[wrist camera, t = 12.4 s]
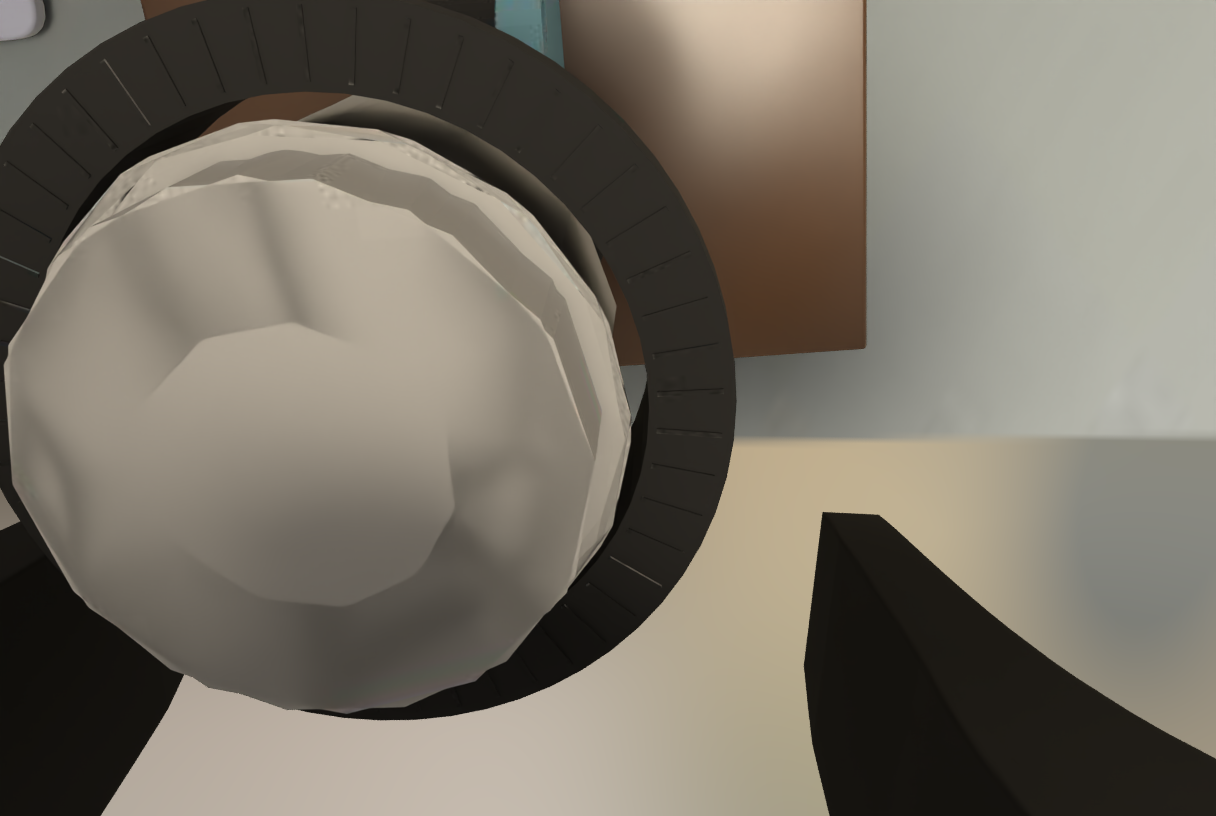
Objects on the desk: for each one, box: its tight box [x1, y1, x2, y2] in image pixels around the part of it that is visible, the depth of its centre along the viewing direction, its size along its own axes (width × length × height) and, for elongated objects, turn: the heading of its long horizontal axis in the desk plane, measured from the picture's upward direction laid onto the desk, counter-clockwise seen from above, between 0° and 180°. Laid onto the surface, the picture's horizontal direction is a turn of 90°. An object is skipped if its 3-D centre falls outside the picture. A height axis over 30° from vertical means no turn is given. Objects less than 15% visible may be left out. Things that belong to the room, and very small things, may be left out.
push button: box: [0, 0, 736, 720], centre depth 11 cm, size 7×5×10 cm
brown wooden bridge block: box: [141, 0, 867, 366], centre depth 18 cm, size 10×8×5 cm
